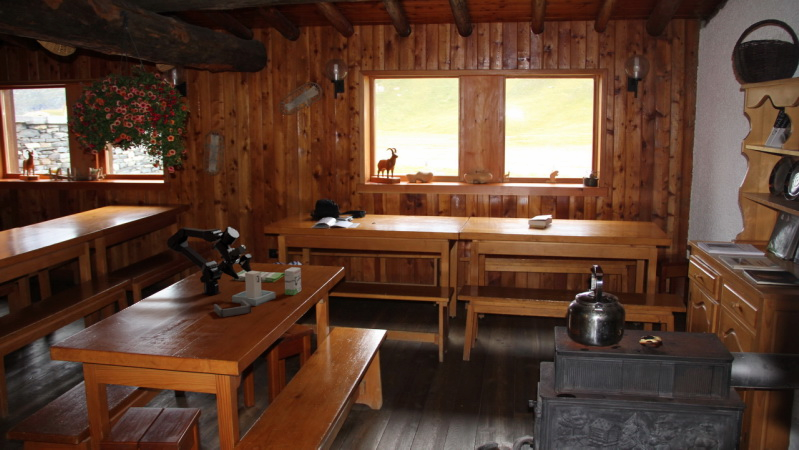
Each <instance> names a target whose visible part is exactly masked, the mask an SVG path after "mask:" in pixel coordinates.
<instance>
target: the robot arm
mask: <svg viewBox="0 0 799 450" xmlns="http://www.w3.org/2000/svg"><path fill="white" fill-rule="evenodd" d="M239 237H240V234H239V232H238V230H237V229H234V228H233V227H231V226H227V227H226V228H225V229H224V231H222V230H221V228H211V229H203V228H202V229H201V228H194V227H188V226H185V227H180V228H179V229H178V230H177V231H176V232H175V233H174V234H172V235H171V236H170V237H169V238H168V239H167V241H166V242H167V243H166V245H167V248H168V249H170V250H172V251H173V252H176V253H180V254H182V255H183V256H184V257H185V258H187V259H188V260H189V261H190V262H192V263H193V264H194V265H195V266H197V268H199V269H200V271H201V274H202V275H201V276H200V277H199V280H200V283H202V284H203V287H204V288H203V290H204V291H203V292H201V295H207V296H214V295H217V294H220V293H222V292H221V290H219V289H220V288H219V286H220V285H219V281H220V280H221V278H222V275H223V274H225V275H227V276H230V277H232V278H236V279H239V277H238V275H237V273H238V272H236V270H235V269H234V266H235V265H237V264H238V266H239V265H240V268H241V269H242V270H245V271H246V272H250V271H252V268H251V264H250V261H251V260H252V258H253V257H252V255H251V253H246V252H247V247H246V246H245V245H244V244H241V245H239V246H238V247H237V248H234V247H231V245H233V244H234V243H235V242H236V241H237V240H238V238H239ZM189 238H195V239H202V240H204V241H205V242H208V243H210V244H211V243H213V244H212V247H211V250H212V251H215V250H217V252H218V253H219V254H220V258H221V261H220V263H217V262H216V261H215V260H211V261H208V260H207V259H206V258H205V257H203V256H202V255H201V254H199V253H198V252H197V251H196V250H195V249H193V248H192V247H191V246H189V243H188V240H189ZM233 265H234V266H233Z"/></svg>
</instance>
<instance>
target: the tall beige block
mask: <svg viewBox="0 0 799 450" xmlns="http://www.w3.org/2000/svg"><path fill="white" fill-rule="evenodd" d="M261 272H262V271H257V270H251V271H250V272H247V273H245V281H244V282H245V291H246V297H247V298H253V299H257V298H259V297H262V293H261V290H262V282H261Z"/></svg>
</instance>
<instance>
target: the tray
mask: <svg viewBox="0 0 799 450" xmlns="http://www.w3.org/2000/svg"><path fill="white" fill-rule="evenodd" d="M261 293H262V297H259V298H257V299H253V298H247V297H246V290H244V291H240V292H239V293H236V294H234V295H232V296H231V302H232V303H236V304H240V305H241V300H244V301H245V302H247V303H248V304H249V305H251V306H254V307H257V306H261V305H263V304H265V303H267V302H270V301H272V300H275V299H276V291H270V290H265V289H261Z"/></svg>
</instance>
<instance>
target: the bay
mask: <svg viewBox="0 0 799 450" xmlns="http://www.w3.org/2000/svg"><path fill="white" fill-rule="evenodd" d="M213 311H214V313H216V314H217V316H219V317H220V318H225V317H230V316H231V317H232V316H237V315H244V314H250V313H252V305H249V304H248V303H247V302H245V301H244V300H241V304H240V306H235V307H230V308H223V309H222V307H220V306H219V305H218V304H216V303H215V304H213Z"/></svg>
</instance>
